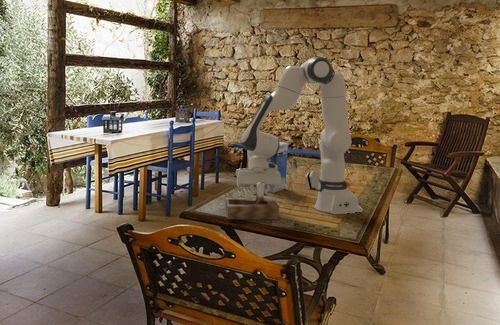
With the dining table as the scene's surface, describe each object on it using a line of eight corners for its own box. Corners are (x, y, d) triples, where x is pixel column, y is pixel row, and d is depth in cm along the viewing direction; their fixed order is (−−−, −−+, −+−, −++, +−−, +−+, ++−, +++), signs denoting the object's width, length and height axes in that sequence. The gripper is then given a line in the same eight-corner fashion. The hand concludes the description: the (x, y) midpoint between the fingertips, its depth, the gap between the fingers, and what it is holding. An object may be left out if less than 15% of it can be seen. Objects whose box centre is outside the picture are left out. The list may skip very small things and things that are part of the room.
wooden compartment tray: (227, 219, 181) (227, 206, 180) (225, 209, 195) (225, 197, 194) (278, 219, 184) (279, 206, 183) (272, 209, 198) (273, 198, 197)
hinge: (316, 190, 240) (311, 172, 239) (308, 191, 242) (304, 174, 241) (323, 184, 255) (318, 168, 254) (315, 185, 257) (311, 169, 256)
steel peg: (264, 207, 193) (265, 181, 191) (266, 210, 187) (268, 184, 185) (252, 207, 192) (253, 181, 190) (254, 210, 187) (255, 184, 185)
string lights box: (274, 186, 244) (277, 141, 239) (286, 188, 239) (289, 143, 235) (262, 190, 233) (264, 143, 228) (274, 193, 229) (276, 145, 224)
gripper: (236, 164, 192) (237, 191, 184) (280, 165, 195) (284, 191, 187) (234, 172, 197) (236, 198, 189) (278, 172, 200) (281, 198, 192)
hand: (260, 194), depth 188 cm, fingers closed on steel peg, 4 cm apart
